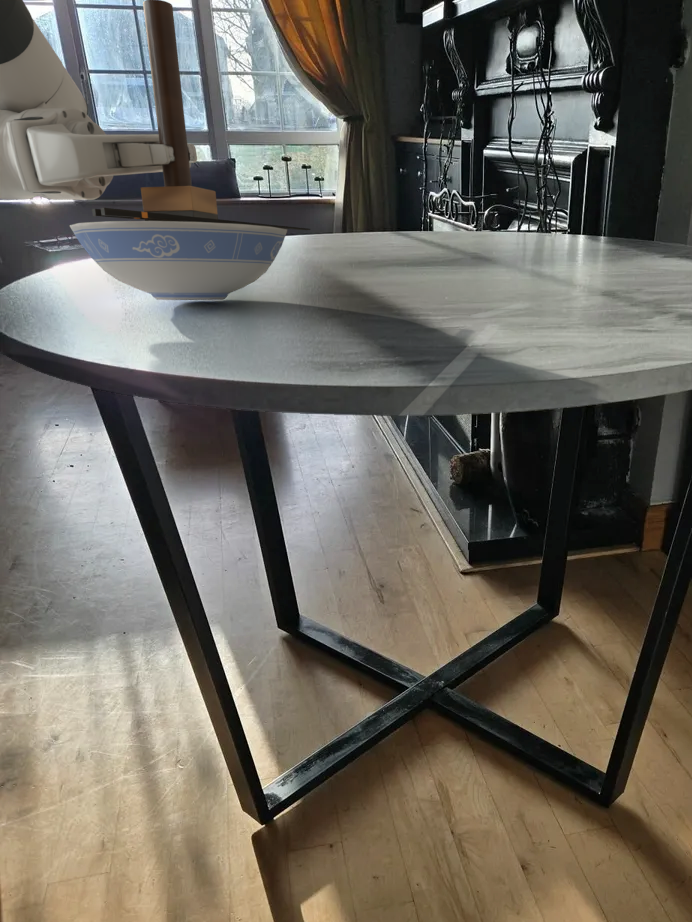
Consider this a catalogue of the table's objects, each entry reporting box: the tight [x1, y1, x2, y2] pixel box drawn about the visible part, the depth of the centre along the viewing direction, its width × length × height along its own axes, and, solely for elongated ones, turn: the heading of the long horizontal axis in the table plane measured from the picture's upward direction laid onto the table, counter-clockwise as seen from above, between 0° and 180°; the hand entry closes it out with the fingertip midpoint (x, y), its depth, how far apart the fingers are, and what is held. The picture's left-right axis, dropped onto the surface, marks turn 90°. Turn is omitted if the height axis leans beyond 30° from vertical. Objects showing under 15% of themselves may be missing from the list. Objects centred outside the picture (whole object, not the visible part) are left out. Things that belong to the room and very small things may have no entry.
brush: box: [140, 0, 219, 221], centre depth 82 cm, size 6×5×20 cm
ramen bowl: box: [68, 207, 311, 301], centre depth 87 cm, size 25×23×8 cm
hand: (181, 153), depth 83 cm, fingers closed on brush, 3 cm apart
